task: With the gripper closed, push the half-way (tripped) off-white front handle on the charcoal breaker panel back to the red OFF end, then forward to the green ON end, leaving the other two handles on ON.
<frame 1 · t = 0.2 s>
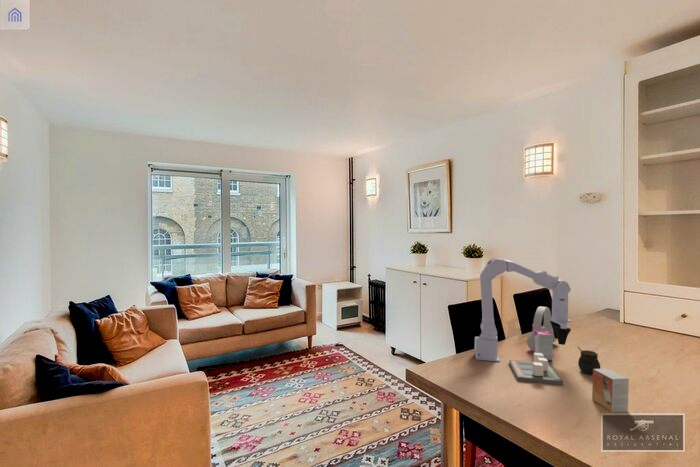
hand: (559, 341, 144), 10 cm above the table, tool pointing down, fingers open, 7 cm apart
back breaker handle: (538, 359, 141), point 4 cm above the table, slide at 3.0 cm
supplement box: (543, 358, 151), on the table
small box: (609, 406, 111), on the table
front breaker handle: (537, 369, 131), point 4 cm above the table, slide at 0.0 cm
headphones: (542, 347, 165), on the table
mate gourd: (588, 373, 137), on the table
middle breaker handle: (542, 364, 135), point 4 cm above the table, slide at 3.0 cm
breaker panel: (533, 373, 136), on the table
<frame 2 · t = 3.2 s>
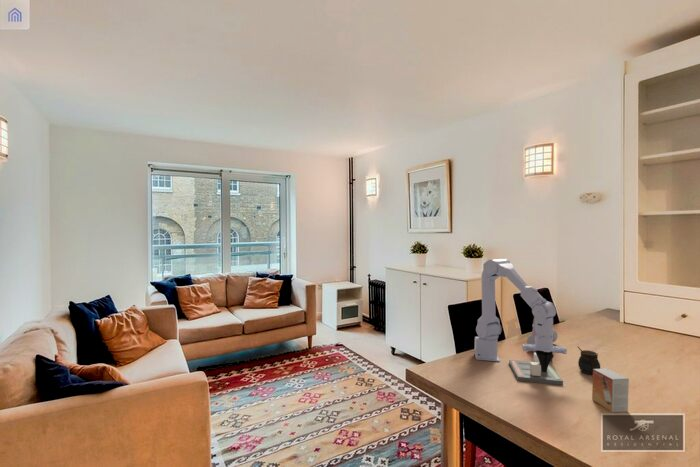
hand: (543, 371, 130), 3 cm above the table, tool pointing down, fingers closed
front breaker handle: (535, 368, 131), point 4 cm above the table, slide at -0.9 cm, touching gripper
everything else where it was.
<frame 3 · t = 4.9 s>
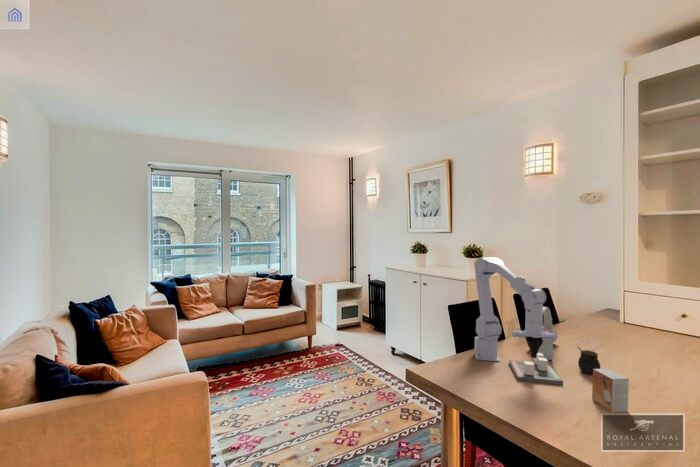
hand: (533, 356, 131), 8 cm above the table, tool pointing down, fingers closed
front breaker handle: (529, 368, 131), point 4 cm above the table, slide at -3.1 cm
everything else where it was.
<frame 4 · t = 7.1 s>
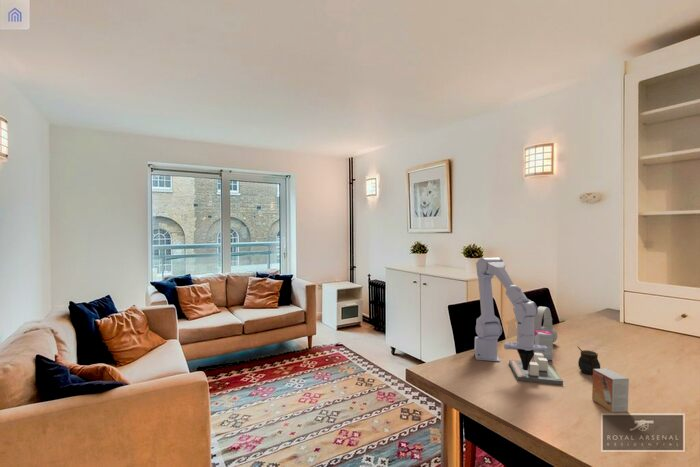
hand: (525, 369, 132), 3 cm above the table, tool pointing down, fingers closed
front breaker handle: (533, 368, 131), point 4 cm above the table, slide at -1.5 cm, touching gripper
everything else where it was.
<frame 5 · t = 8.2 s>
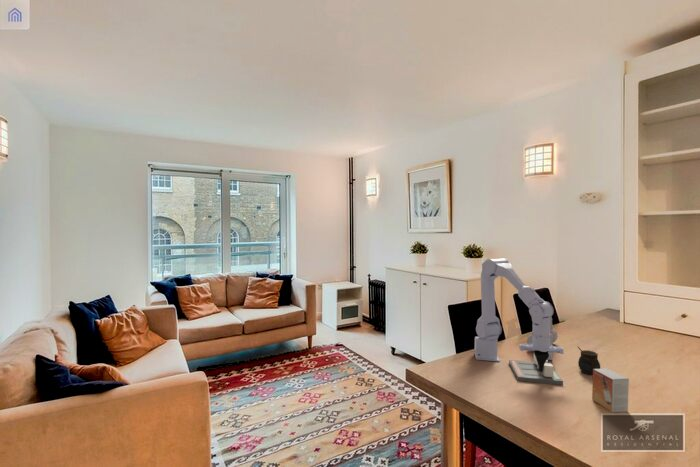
hand: (540, 370, 130), 3 cm above the table, tool pointing down, fingers closed
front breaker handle: (547, 370, 130), point 4 cm above the table, slide at 3.3 cm, touching gripper
everything else where it was.
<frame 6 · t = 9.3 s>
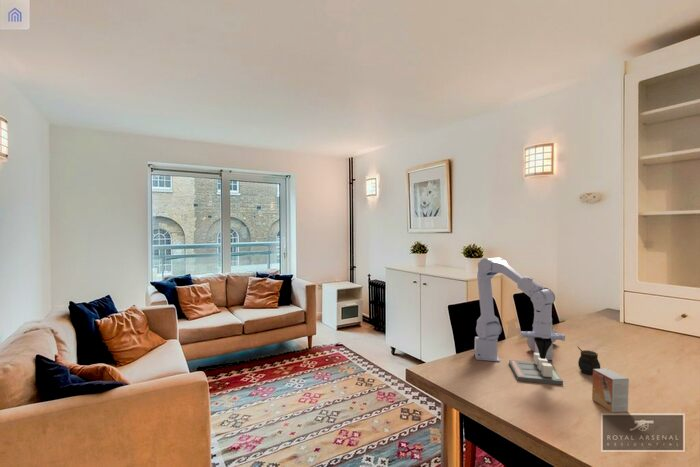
hand: (542, 357, 130), 8 cm above the table, tool pointing down, fingers closed
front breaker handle: (546, 369, 130), point 4 cm above the table, slide at 3.1 cm
everything else where it was.
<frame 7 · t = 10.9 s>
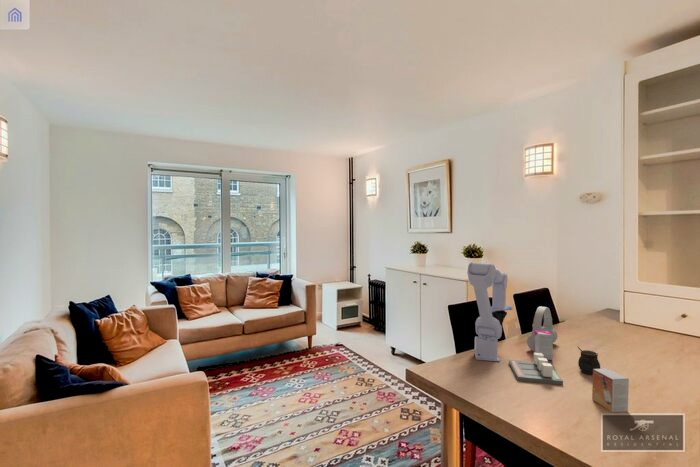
hand: (498, 326, 164), 10 cm above the table, tool pointing down, fingers closed
nothing on the table moved.
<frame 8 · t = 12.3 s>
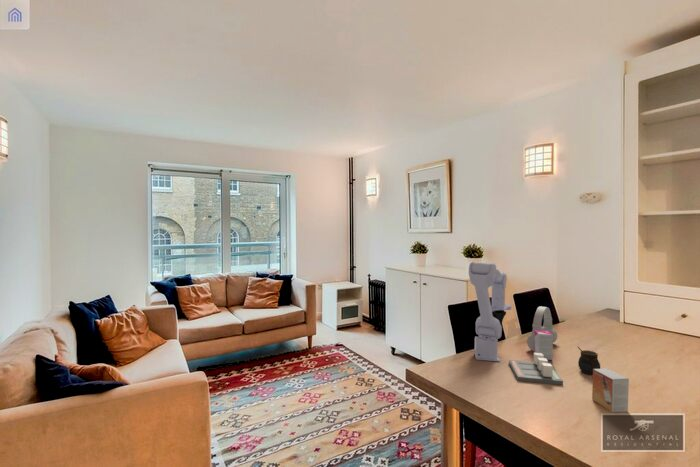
hand: (498, 326, 164), 10 cm above the table, tool pointing down, fingers closed
nothing on the table moved.
at the end: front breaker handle slide at 3.1 cm; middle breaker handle slide at 3.0 cm; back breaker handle slide at 3.0 cm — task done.
